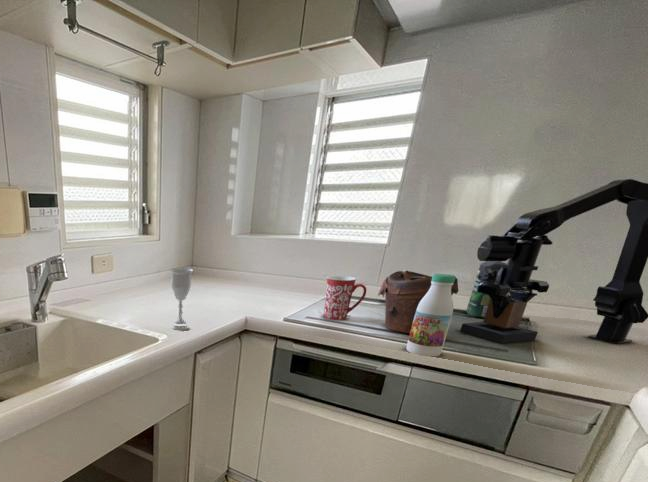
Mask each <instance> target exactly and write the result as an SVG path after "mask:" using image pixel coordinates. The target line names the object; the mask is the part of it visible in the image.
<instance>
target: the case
mask: <svg viewBox="0 0 648 482" xmlns="http://www.w3.org/2000/svg"><path fill="white" fill-rule="evenodd" d="M448 274H449V273H448ZM449 275H451V274H449ZM454 276H455V281H454V282H453V285H452V287H451V295H452V296H453V294H455V295H456V294H458V293H459V283H458V282H459V280H458V278H457V276H456V275H454ZM431 281H432V276H431V275H427V274H423V273H420V272H415V271H409V270H407V269H404V270H397V271H394V272H392V273H390V274H389V275H388V276H386V277H385V279H384V280H383V281H382V284H381V287H380V289H379V292H378V294H377V296H380V295H381V296H382V298H385V299H384V300H385V301H384V302H385V304H384V305H385V308H384V309H385V310H384V311H385V313H384V314H385V318H384V319H385V321H384V324H385V327H386V328H387V329H389V330H391V331H395V332H398V333H403V334H409V335H410V331H411V328H412V324H413V320H414V317H415V313H416V310H417V307H418V305H419V303H420V301H421V300H422V298H423V297H424V296H425V295H426V294H427V292H428V291H429V289H430V287H431V284H432V283H431Z"/></svg>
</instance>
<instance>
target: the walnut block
mask: <svg viewBox="0 0 648 482" xmlns="http://www.w3.org/2000/svg"><path fill="white" fill-rule="evenodd" d="M527 305H528V302H522V301H517V300H515V299H513V298H512V299H511V301H510V302H509V303H508V305H507V306H506V308H505V309H504V311H503V312H502V314H501V315H500V316H499V317H498V318H494V317H493V306H492V300H491V299H490V301H489V304H488V307H487V311H486V314H485V317H484V318H483V320H482V322H483V323H487V324H491V325H495V326H499V327H503V328H511V327H520V325H521V321H522V320H523V316H524V313H525V310H526V307H527Z"/></svg>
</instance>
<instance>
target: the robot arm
mask: <svg viewBox="0 0 648 482" xmlns="http://www.w3.org/2000/svg"><path fill="white" fill-rule="evenodd" d="M615 201H617V202H618V203H621V204H624V205H626V213H625V215H626V218H627V220H628V223H629V227H628V231H627V234H626V236H625V239H624V243H623V246H622V249H621V252H620V254H619V258H618V260H617V264H616V266H615V270H614V273H613V276H612V278H611V280H610V281H609V282H608V283H607V284H606V285H604V286H601V285H599V286H598V287H597V289H596V295H595V297H594V298H593V300H592V301H594V306H595V307H596V315H597V316H600V317H601V316H602V317H603V319H602V321H601V323H600V325H599V328H598V330H597V331H596V334H591V335H588V338H590V339H594V340H599V341H602V342H607V343H611V344H615V345H616V344H626V343H627V344H628V343H633V340H632V339H628V338H627V337H628V336H629V333H630V331H631V329H632V327H633V325H634V324H644V322H646V321H647V319H648V312H647V311H646V309H645V307H644V306H643V305H642V304H643V300H644V291H643V288H642V285H641V278H642V275H643V273H644V270H645V267H646V264H647V262H648V183H647V182H642V181H639V180H637V179H634V178H625V179H615V180H611V181H610V182H609V183H607V184H605V185H603V186H600V187H598V188H596V189H594V190H593V189H592V190H591V191H588V192H586V193H583V194H581V195H579V196H577V197H574V198H572V199H569V200H567V201H565V202H563V203H560V204H558V205H555V206H550V207H546V208H541V209H536V210H533V211H529V212H526V213H524V214H522V215H520V216H519V217H518V218H517V221H516V223H515V224H514V225H512V226H511V227H510V228H509V229H508V230H507V231H506V232H505V233H503V234H502V235H491V234H488V235H487V236H486V239H484V240H483V241H482V242H481V244H480V246H478V248H477V251H476V256H477V259H478V261H480V262H486V261H501V262H506V264H503V265H502V266H501V269H500V270H497V271H491V269H490V268H488V269H481V270H480V272H479V274H478V277H477V276H476V277H477V278H478V280H480V281H481V284H479V285H478V288H477V292H480V293H485V294H486V295H488V296H489V297H490V298H491V300H492V306H493V317H494V318H498V317H499V316H500V315H501V314H502V312H503V311H504V309H505V308H506V306H507V305H508V303H509V302H510V301H511V299H512V298H513V299H515V300H517V301H522V302H527V303H528V302H530V301H531V300H532V299H533V298H535V297H537V296H538V293H547V292H548V290H549V288H550V284H549V282H548V281H545V280H539V279H531V276H532V274H533V271H538V269H539V266H538V265H536V263H537V260H538V257H539V254H540V252H541V250H542V249H541V248H542V246H551V245H553V241H552V240H551V239H550V238H549V237H548V235H547V234H549V233H551V232H553V231H554V230H556V229H558V228H560V227H561V226H562V225H563V224H564V223H565V222H567V221H568V220H570V219H573V218H576V217H577V216H580V215H582V214H585V213H587V212H590V211H592V210H595V209H597V208H599V207H602V206H605V205H607V204H609V203H611V202H615ZM534 291H537V293H536V292H534Z"/></svg>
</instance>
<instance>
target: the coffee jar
mask: <svg viewBox="0 0 648 482" xmlns="http://www.w3.org/2000/svg"><path fill="white" fill-rule="evenodd" d="M503 264H507V262H504V261H482V262H481V263H480V265H479V268H478V270H477V274H476V277H475V281H474V284H473V288H472V291H471V294H470V297H469V301H468V303H467V307H466V313H467V314H468V316H471V317H473V318H474V317H475V318H479V319H484V317H485V314H486V311H487V307H488V304H489V301H490V299H491V298H490V297H489V296H488V295H486V294H485V293H480V292H477V288H478V285H479V284H481V281H480V280H478V278H477V277H478V274H479V272H480V270H481V269H488V268H490V269H491V271H497V270H500V269H501V266H502V265H503Z"/></svg>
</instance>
